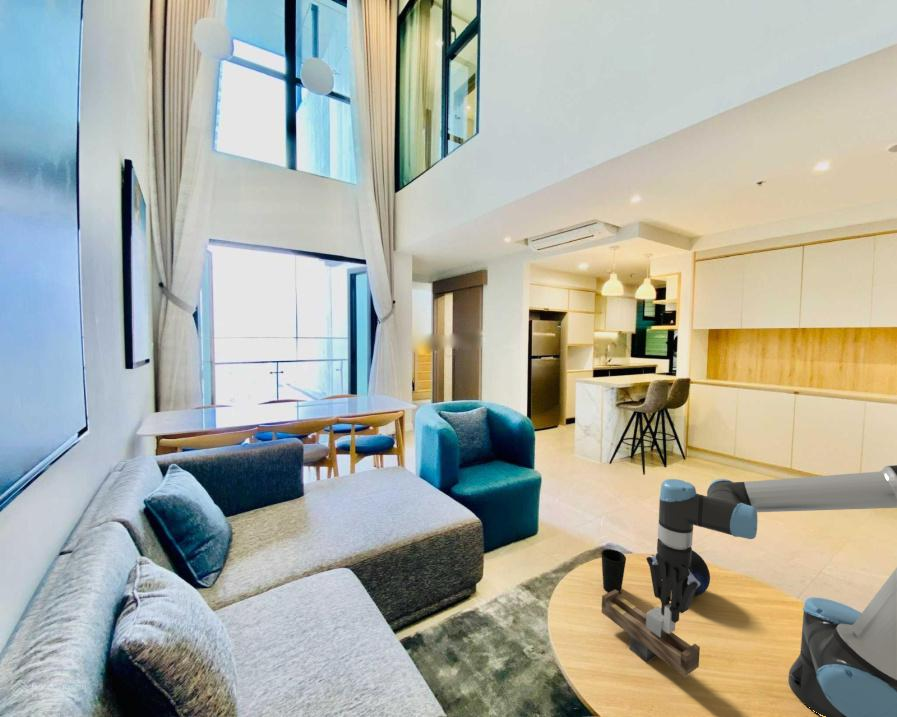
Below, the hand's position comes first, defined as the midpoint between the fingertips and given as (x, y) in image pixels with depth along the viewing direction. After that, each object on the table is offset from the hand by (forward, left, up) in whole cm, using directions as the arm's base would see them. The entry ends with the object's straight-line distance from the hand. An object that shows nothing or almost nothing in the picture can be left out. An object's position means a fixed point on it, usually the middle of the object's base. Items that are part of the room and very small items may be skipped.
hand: (669, 630), depth 97 cm
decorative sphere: (+15, -34, -11) cm, 39 cm away
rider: (+3, 0, -4) cm, 5 cm away
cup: (+27, -14, -11) cm, 32 cm away
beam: (+6, 0, -11) cm, 12 cm away
